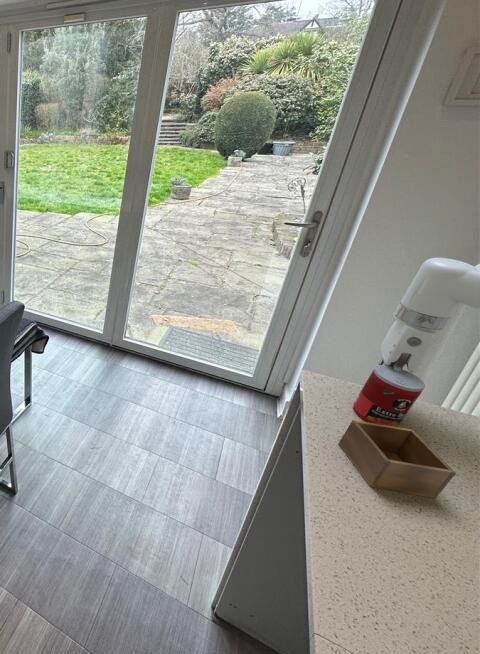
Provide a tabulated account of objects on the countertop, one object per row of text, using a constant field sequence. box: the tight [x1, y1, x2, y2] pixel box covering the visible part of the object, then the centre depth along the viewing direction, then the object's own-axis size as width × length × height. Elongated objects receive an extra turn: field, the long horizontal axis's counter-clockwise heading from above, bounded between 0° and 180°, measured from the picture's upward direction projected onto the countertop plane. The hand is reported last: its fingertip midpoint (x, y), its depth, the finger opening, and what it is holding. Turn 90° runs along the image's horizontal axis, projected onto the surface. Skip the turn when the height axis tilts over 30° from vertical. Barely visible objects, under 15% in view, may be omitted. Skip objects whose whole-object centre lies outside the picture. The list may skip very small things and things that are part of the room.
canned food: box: [352, 365, 426, 427], centre depth 87 cm, size 8×8×11 cm
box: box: [338, 420, 457, 499], centre depth 75 cm, size 10×10×6 cm
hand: (378, 384), depth 93 cm, fingers closed
